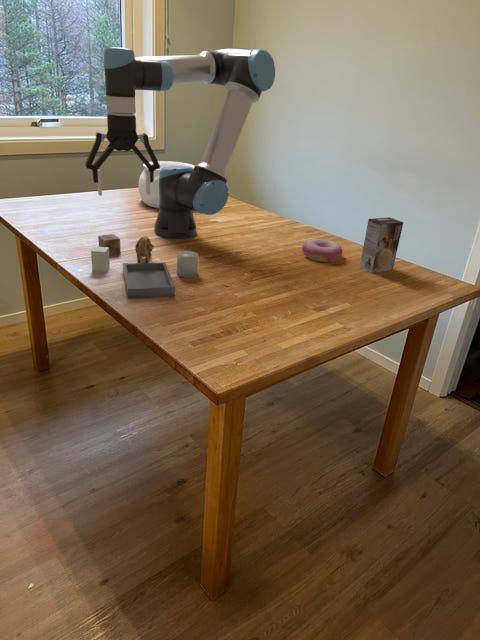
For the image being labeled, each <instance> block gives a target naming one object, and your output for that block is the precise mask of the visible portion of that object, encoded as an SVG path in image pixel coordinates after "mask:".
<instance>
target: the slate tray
mask: <svg viewBox="0 0 480 640" xmlns="http://www.w3.org/2000/svg"><path fill="white" fill-rule="evenodd" d="M122 270H123V271H122V273H123V277H124V283H125V290H126V294H127V299H140V298H141V299H142V298H143V299H144V298H145V299H146V298H165V297H175V296H176V286H175V284H174V281H173V278H172V276H171V274H170V271H169V268H168V265H167V264H166V261H165V262H162V261H159V262H149V263H145V262H141V263H137V262H133V263H132V262H129V263H128V262H127V263H122Z"/></svg>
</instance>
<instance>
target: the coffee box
mask: <svg viewBox="0 0 480 640" xmlns="http://www.w3.org/2000/svg"><path fill="white" fill-rule="evenodd" d="M403 226H404V221H401V220H398V219H396V218H393V217H388V216H387V217H376V218H368V220H367V225H366V231H365V236H364V242H363V247H362V251H361V257H360V261H359V267H360V268H361V269H363V270H366V271H367V272H368V273H371V274H373V273H374V274H375V273H381V272H388V271H389V272H390V271H393V270H394V266H395V261H396V256H397V253H398V248H399V243H400V239H401V234H402V231H403Z"/></svg>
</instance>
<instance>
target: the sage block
mask: <svg viewBox="0 0 480 640" xmlns="http://www.w3.org/2000/svg"><path fill="white" fill-rule="evenodd" d="M90 253H91V254H90V255H91V268H92V269H91V270H92V272H101V273H103V272H104V273H107V272H108V271H109V269H110V266H111V265H110V255H109V247H99V246H95V245H94V247H93V248H92V249H91V251H90Z"/></svg>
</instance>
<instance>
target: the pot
mask: <svg viewBox="0 0 480 640" xmlns="http://www.w3.org/2000/svg"><path fill="white" fill-rule="evenodd" d="M157 161H158V163H159V165H160V168H159V169H156V170H154V181H153V182H150V195H147V193H146V170H148V168H147V167H146V165H145V164H144V163H143V164H142V166H143V168H144V169H143V170H142V172H141V173H140V175H139V179H138V193H139V196H140V198H141V200H142V202H143V203H144V204H145V205H146V206H149V207H151V208H155V209H159V174H160V170H161V169H162V168H164V167H172V166H190V167H193V169H194V166H195V165H194V164H191V163H186V162H180V161H173V160H172V161H169V160H167V161H166V160H165V161H164V160H157ZM148 162H149V163H150V164H151V165H153V162H152V161H148Z"/></svg>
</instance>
